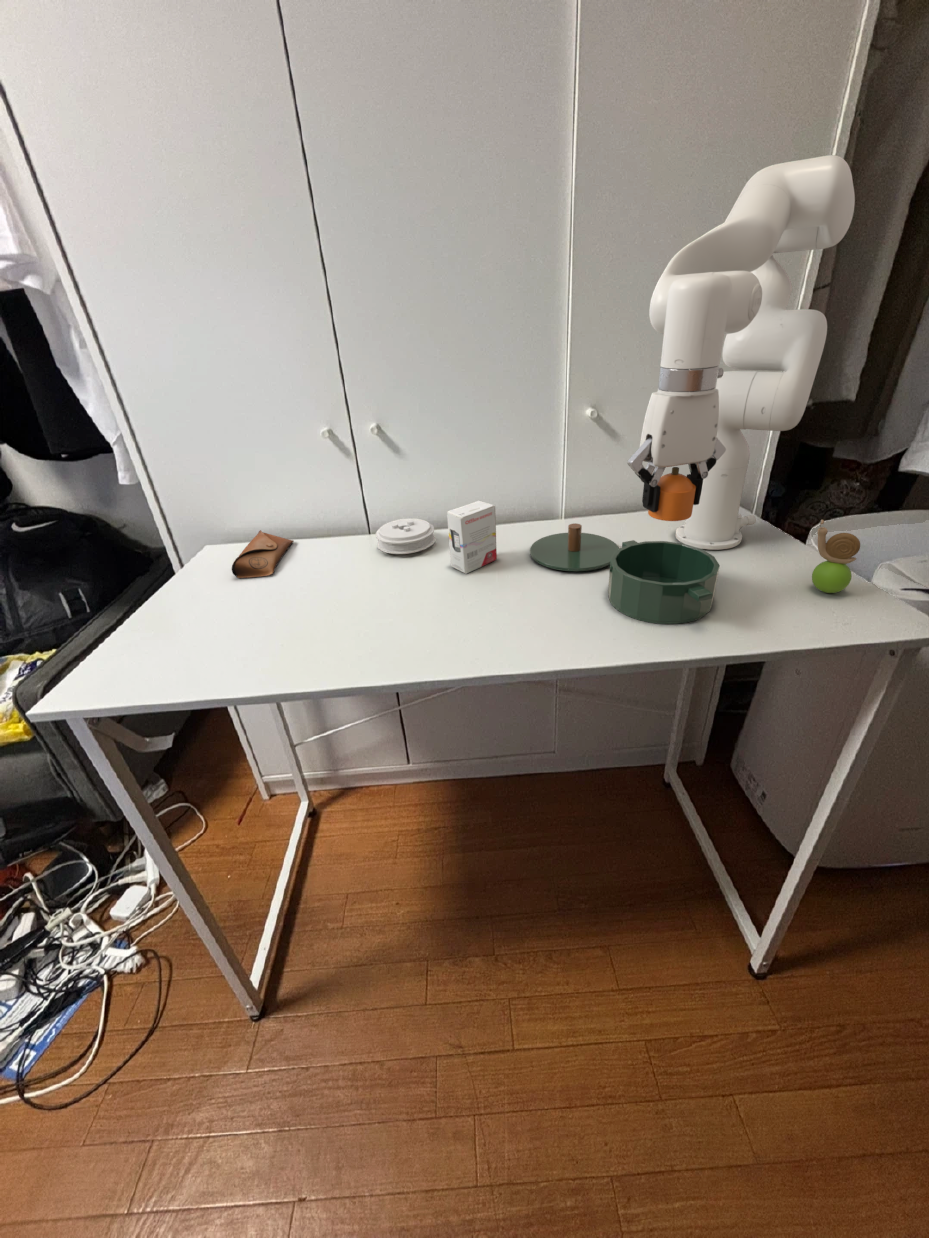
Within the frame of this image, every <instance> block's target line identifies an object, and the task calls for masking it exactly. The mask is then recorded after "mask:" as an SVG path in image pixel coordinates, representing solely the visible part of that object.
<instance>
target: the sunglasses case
mask: <svg viewBox="0 0 929 1238" xmlns="http://www.w3.org/2000/svg"><path fill="white" fill-rule="evenodd" d="M294 541H295V540H294V539H290V538H284V537H281V536H277V535H274V534H269V533H267V532H264V531H262V530H261V529H259V531H258V533H257V534H256V535H255V536H254V537H253V538H252V539H251V540H250V541H249V543H247V545H246V546H245V547H244V549H243V550H242V551H241V552H240V554H239V555H238V557H236V558H235V560H234V561H233V563H232V565H231V573H232V575H233V576H234V577H236V578H237V579H256V578H263V577H269V576H271V575H274V573H275V570H276V568H277V566H278V565H279V563H280V561H281V560H282V558H283V557H284V556H285V554H286V553H288V550H289V549H290V548H291V546H292V545H293V543H294Z"/></svg>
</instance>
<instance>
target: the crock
mask: <svg viewBox="0 0 929 1238" xmlns="http://www.w3.org/2000/svg"><path fill="white" fill-rule="evenodd" d="M720 566H721V565H720V563H719V562H718V560H717V559H716V556H714V555H712V554H711V553H709V552H708V551H706V550H705V549H700V548H696V547H693V546H690V545H686V544H683V543H681V542H674V541H666V540H655V541H654V540H652V541H651V540H650V541H648V540H647V541H646V540H645V541H640V542H637V541H636V540H634V539H632V540H629V541H628V540H627V541H622V543H621V547H619V549H618V550H616V551H615V553H614V554H613V555H612V557H611V560H610V565H609V575H608V587H607V593H608V601H609V602H610V604H611V605H612V606H613V608H614V609H616V610H617V611H618V612H620V613H621V614H623V615H625V616H627V617H629V618H632V619H634V620H635V619H636V620H638V621H642V622H645V623H651V624H657V625H658V624H659V625H679V624H686V623H690V622H691V623H692V622H694V621H697V620H700V619H702V618H703V617H705V616H706V615H708V613H709V612H710V611H711V609H712V605H713V602H714V598H715V593H716V588H717V582H718V578H719V571H720V568H721V567H720Z"/></svg>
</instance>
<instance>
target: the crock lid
mask: <svg viewBox="0 0 929 1238" xmlns="http://www.w3.org/2000/svg"><path fill="white" fill-rule="evenodd" d="M582 528H583V525H582V524H581V523H574V522H573V523H569V524H568V526H567V532H559V533H554V534H550V535H546V536H544V537H541V538H539V539H536V540H535V541H534V542H533V543H532V544H531V546H530V547H529V555H530V557H531V559H532V560H533V561H534V562H535V563H537V564H539V565H541V566H542V567H546V568H549V569H553V570H557V571H565V572H587V571H594V570H598V569H602V568H605V567H607V566H610V560H611V557H612V555H613V554H614V553H615V551H616V550H618V549H620V547H619V546H618V544H617V543H615V541H613V540H611V539H610V538H607V537H605V536H602V535H600V534H595V533H589V532H582V531H583V529H582Z"/></svg>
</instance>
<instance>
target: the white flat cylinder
mask: <svg viewBox="0 0 929 1238" xmlns="http://www.w3.org/2000/svg"><path fill="white" fill-rule="evenodd" d="M434 532H435V527H434V525H433V524H432V523H430V522H428V521H427V520H424V519H421V518H412V517H411V518H410V517H409V518H400V519H394V520H392V521H391V520H390V521H388V522H386V523H384V524H382V525H381V526H380V527H379V528H378V529H377V530H376V532H375V538H376V539H377V543H376V546H377V548H378V549H379V550H380V551H381V552H383V553H387V554H392V555H406V554H413V553H417V552H422V551H425V550H426V549H428V548H430V547H431V546H433V545H434V543H435V542H436V537H435V535H434Z"/></svg>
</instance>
